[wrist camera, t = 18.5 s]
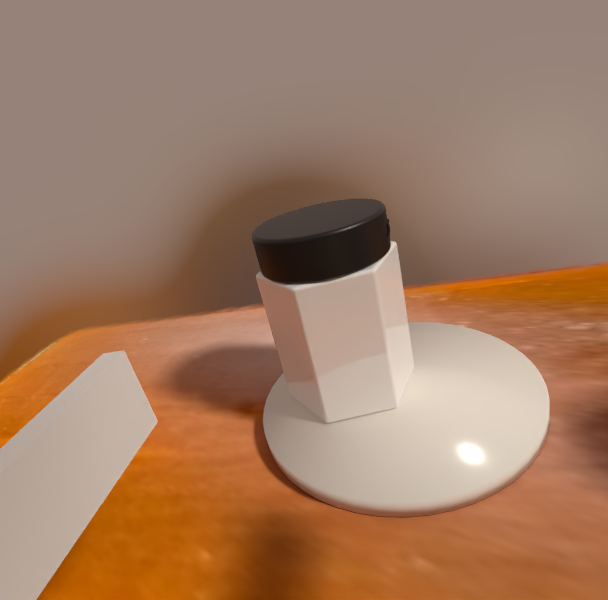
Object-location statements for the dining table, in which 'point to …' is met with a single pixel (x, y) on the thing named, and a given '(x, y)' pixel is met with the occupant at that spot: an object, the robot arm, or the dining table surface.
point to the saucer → (421, 431)
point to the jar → (336, 307)
